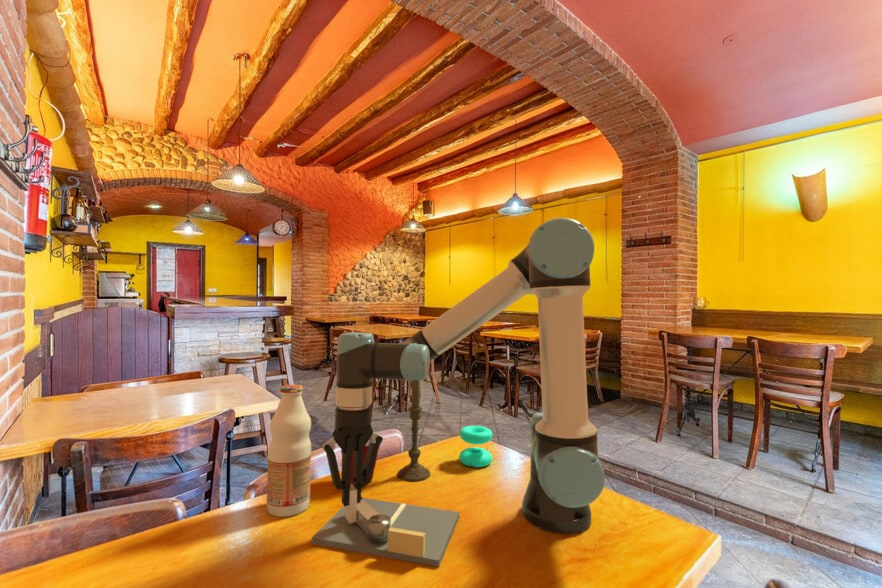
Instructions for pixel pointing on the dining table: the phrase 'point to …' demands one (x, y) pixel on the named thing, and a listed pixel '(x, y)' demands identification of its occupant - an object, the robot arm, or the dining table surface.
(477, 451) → the donuts
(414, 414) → the candlestick holder
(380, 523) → the lock bar
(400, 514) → the plate
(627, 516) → the dining table surface
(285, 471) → the fruit juice
